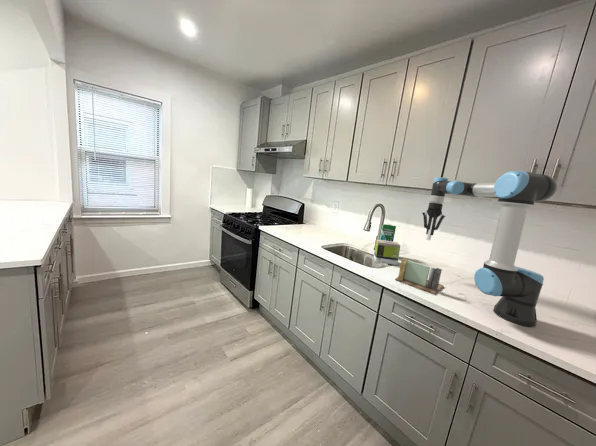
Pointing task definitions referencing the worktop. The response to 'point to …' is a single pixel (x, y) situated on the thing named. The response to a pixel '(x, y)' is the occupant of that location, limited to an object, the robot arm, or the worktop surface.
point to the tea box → (386, 252)
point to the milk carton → (387, 232)
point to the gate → (419, 273)
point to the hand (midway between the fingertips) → (428, 239)
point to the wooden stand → (432, 290)
